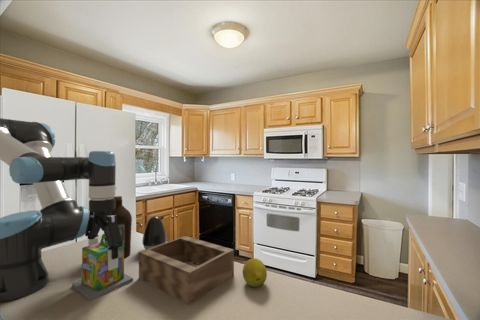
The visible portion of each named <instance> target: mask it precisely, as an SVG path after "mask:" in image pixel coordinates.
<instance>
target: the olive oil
mask: <svg viewBox="0 0 480 320" xmlns="http://www.w3.org/2000/svg"><path fill="white" fill-rule="evenodd" d="M113 198H115V199H116V208H115V209H114V210H112V211H111V215H112V216H113V215H117V223H118V227H119V231H120V235H121V240H122V244H124V259H126V258H128V257H129V256H130V255H131V241H132V226H133V225H132V224H133V223H132V221H133V217H132V213H131V212H130V211H129V210H128V209H127V208H126V207H125V206H124V205H123V196H122V195H117V196H116V195H115V196H114V197H113ZM103 234H105V233H104V232H103ZM104 241H107V239H106V238H105V239H104Z"/></svg>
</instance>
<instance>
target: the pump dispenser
mask: <svg viewBox="0 0 480 320" xmlns="http://www.w3.org/2000/svg"><path fill="white" fill-rule="evenodd" d="M164 218H165V216H164V215H162V216H160V217H159V216H157V215H154V216H150V217H149V219H148V220H147V222H146V224H145V227H144V230H143V234H142V246H143V248H144V250H146V249H149V248H151V247H154V246H157V245H160V244H163V243H166V242H168V241H167V232H166V229H165V226H164V222H163V221H162V220H163V219H164Z"/></svg>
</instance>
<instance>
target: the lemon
mask: <svg viewBox="0 0 480 320" xmlns="http://www.w3.org/2000/svg"><path fill="white" fill-rule="evenodd" d="M266 267H267V266H266V265H265V263H264V262H263V261H262V260H260V259H259V258H250V259H248V260H246V262H245V263H244V265H243V268H242V277H243V279H244V281H245V283H246V284H247V285H248V286H250V287H254V288H255V287H260V286H262V285H263V284H264V283H265V282H266V281H267V277H268V276H267V274H268V273H267V272H268V271H267V268H266Z"/></svg>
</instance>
